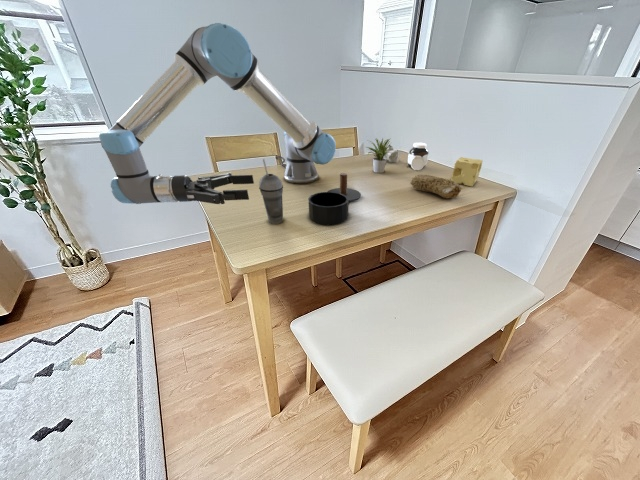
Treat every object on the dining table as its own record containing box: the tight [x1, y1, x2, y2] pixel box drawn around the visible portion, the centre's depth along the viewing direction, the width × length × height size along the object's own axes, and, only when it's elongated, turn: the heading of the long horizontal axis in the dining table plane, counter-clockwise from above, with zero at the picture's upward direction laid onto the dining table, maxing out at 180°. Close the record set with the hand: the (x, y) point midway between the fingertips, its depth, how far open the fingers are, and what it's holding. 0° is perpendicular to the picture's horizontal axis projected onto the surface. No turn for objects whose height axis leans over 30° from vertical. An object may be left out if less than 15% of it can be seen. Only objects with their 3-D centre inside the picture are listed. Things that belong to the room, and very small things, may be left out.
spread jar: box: [407, 142, 429, 171], centre depth 145 cm, size 12×11×12 cm
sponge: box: [410, 174, 462, 199], centre depth 117 cm, size 13×8×20 cm
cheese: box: [450, 156, 484, 187], centre depth 129 cm, size 10×11×10 cm
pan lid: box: [326, 172, 362, 203], centre depth 110 cm, size 14×14×9 cm
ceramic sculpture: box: [373, 144, 400, 164], centre depth 156 cm, size 11×9×15 cm
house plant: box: [365, 137, 392, 174], centre depth 138 cm, size 14×14×16 cm
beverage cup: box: [259, 158, 284, 225], centre depth 87 cm, size 7×7×20 cm
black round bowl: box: [307, 191, 350, 226], centre depth 95 cm, size 13×13×6 cm
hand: (250, 186), depth 85 cm, fingers open, 13 cm apart
